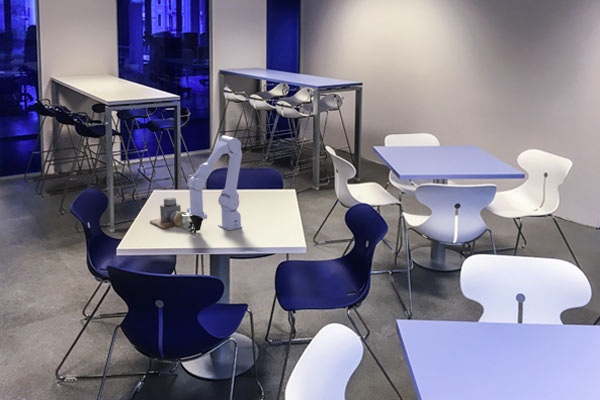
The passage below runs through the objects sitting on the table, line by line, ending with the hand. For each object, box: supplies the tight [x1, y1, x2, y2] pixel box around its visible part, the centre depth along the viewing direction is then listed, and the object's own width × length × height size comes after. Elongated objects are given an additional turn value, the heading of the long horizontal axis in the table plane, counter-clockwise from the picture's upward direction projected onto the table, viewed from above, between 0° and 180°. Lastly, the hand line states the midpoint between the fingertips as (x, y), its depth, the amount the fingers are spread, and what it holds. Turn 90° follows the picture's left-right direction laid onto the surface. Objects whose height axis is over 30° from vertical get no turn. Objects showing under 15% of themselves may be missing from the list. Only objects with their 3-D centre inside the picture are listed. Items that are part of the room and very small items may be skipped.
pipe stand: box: [149, 197, 192, 230], centre depth 309 cm, size 16×18×12 cm
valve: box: [181, 213, 197, 234], centre depth 300 cm, size 7×7×12 cm
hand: (197, 230), depth 294 cm, fingers closed
